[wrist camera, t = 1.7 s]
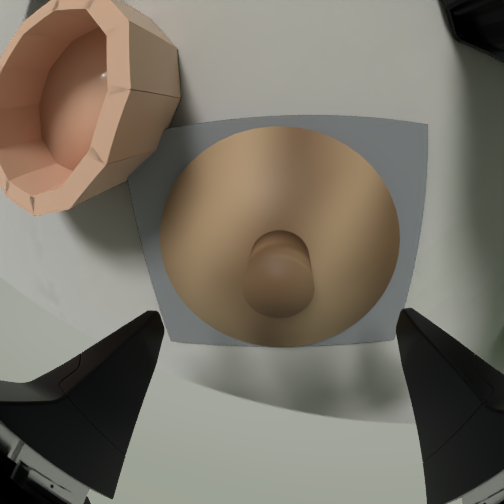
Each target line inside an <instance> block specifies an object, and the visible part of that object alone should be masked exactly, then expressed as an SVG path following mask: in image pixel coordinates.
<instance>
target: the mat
mask: <svg viewBox="0 0 504 504" xmlns="http://www.w3.org/2000/svg"><path fill="white" fill-rule="evenodd" d="M271 126H284V127H297V128H302V129H308V130H312V131H315V132H318V133H321V134H324V135H327V136H330V137H332V138H334V139H336V140H338V141H340V142H342V143H344V144H346V145H347V146H348V147H350V148H351V149H353V150H354V151H355V152H357V153H358V154H360V155H361V156H362V157H363V158H364V159H365V160H366V161H367V162H368V163H369V164H370V165H371V166H372V167H373V168H374V169H375V171H376V172H377V173H378V175H379V176H380V177H381V179H382V180H383V182H384V183H385V185H386V187H387V189H388V191H389V193H390V194H391V197H392V199H393V202H394V205H395V208H396V211H397V216H398V221H399V229H400V246H399V255H398V260H397V264H396V268H395V271H394V273H393V276H392V278H391V281H390V283H389V285H388V287H387V288H386V290H385V292H384V294H383V295H382V296H381V298H380V299H379V301H378V302H377V303H376V305H375V306H374V307H373V308H372V309H371V310H370V311H369V312H368V313H367V314H366V315H365V316H364V317H363V318H361V319H360V320H359V321H358V322H357V323H355V324H354V325H352V326H351V327H349V328H348V329H346V330H344V331H343V332H341V333H339V334H337V335H335V336H333V337H330V338H327V339H325V340H322V341H319V342H315V343H311V344H307V345H301V346H318V345H339V344H354V343H366V342H377V341H387V340H394V339H395V336H396V325H397V321H398V318H399V314H400V311H401V310H402V309H404V306H405V302H406V299H407V295H408V291H409V287H410V283H411V278H412V274H413V269H414V265H415V260H416V255H417V249H418V244H419V238H420V232H421V225H422V218H423V210H424V201H425V191H426V179H427V161H428V124H421V123H415V122H408V121H400V120H392V119H382V118H371V117H357V116H336V115H287V116H266V117H251V118H240V119H230V120H221V121H213V122H205V123H198V124H192V125H185V126H179V127H174V128H168V129H164V131H163V133H162V136H161V138H160V141H159V144H158V146H157V149H156V151H155V152H154V153H153V154H151V155H150V156H149V157H148V158H147V159H146V160H145V161H144V162H143V163H142V164H141V165H140V166H138V167H137V168H136V169H135V170H134V171H133V172H132V173H131V174H130V175H129V176H128V177H127V178H128V183H129V189H130V194H131V199H132V204H133V209H134V214H135V218H136V223H137V227H138V232H139V236H140V240H141V244H142V248H143V252H144V256H145V260H146V264H147V267H148V271H149V274H150V278H151V281H152V285H153V288H154V292H155V295H156V298H157V301H158V304H159V308H160V311H161V314H162V317H163V320H164V323H165V326H166V329H167V331H168V334H169V337H170V340H171V341H174V342H185V343H198V344H214V345H234V346H261V345H255V344H251V343H247V342H243V341H240V340H237V339H235V338H232V337H230V336H227V335H225V334H223V333H221V332H219V331H217V330H216V329H214V328H213V327H211V326H209V325H208V324H206V323H205V322H204V321H203V320H201V319H200V318H199V317H198V316H196V315H195V314H194V313H193V312H192V311H191V310H190V309H189V308H188V307H187V305H186V304H185V303H184V302H183V300H182V299H181V298H180V297H179V295H178V294H177V292H176V290H175V289H174V287H173V286H172V284H171V281H170V279H169V277H168V275H167V273H166V270H165V266H164V263H163V260H162V254H161V248H160V225H161V217H162V213H163V209H164V205H165V202H166V200H167V197H168V195H169V193H170V190H171V188H172V187H173V185H174V183H175V182H176V180H177V179H178V177H179V175H180V174H181V173H182V172H183V170H184V169H185V168H186V167H187V166H188V165H189V163H190V162H191V161H193V160H194V159H195V158H196V157H197V156H198V155H199V154H201V153H202V152H203V151H204V150H206V149H207V148H209V147H210V146H212V145H214V144H215V143H217V142H218V141H220V140H222V139H225V138H227V137H229V136H231V135H234V134H236V133H240V132H243V131H247V130H251V129H255V128H263V127H271Z"/></svg>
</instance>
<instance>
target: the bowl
mask: <svg viewBox="0 0 504 504" xmlns="http://www.w3.org/2000/svg"><path fill="white" fill-rule="evenodd" d="M180 98H181V95H180V83H179V69H178V53H177V48H176V46H175V45H174V44H173V43H172V42H171V41H170V39H169V38H168V37H167V36H166V35H165V34H164V33H163V31H162V30H161V29H160V28H159V27H158V26H157V25H156V24H155V23H154V21H153V20H152V19H151V18H149V17H148V16H146V15H144V14H143V13H141V12H140V11H138V10H136V9H135V8H133V7H131V6H130V5H128V4H126V3H125V2H123V1H121V0H51V1H49V2H48V3H46V4H45V5H44V6H42V7H41V8H40V9H39V10H37V11H36V12H35V13H33V14H32V15H31V16H30V17H29V18H27V19H26V20H25V21H24V22H23V23H22V24H21V26H20V27H19V29H18V30H17V32H16V33H15V35H14V36H13V38H12V39H11V41H10V43H9V44H8V46H7V47H6V49H5V51H4V53H3V54H2V56H1V58H0V186H1V188H2V190H3V192H4V194H5V196H6V197H7V198H9V199H10V200H12V201H13V202H14V203H16V204H17V205H19V206H20V207H21V208H23V209H24V210H26V211H27V212H29V213H30V214H32V215H33V216H37V215H42V214H47V213H52V212H57V211H63V210H68V209H71V208H73V207H75V206H76V205H78V204H80V203H82V202H84V201H86V200H88V199H90V198H92V197H94V196H96V195H98V194H100V193H102V192H104V191H106V190H108V189H110V188H112V187H115V186H117V185H119V184H121V183H123V182H125V181H126V180H128V178H127V177H128V176H129V175H130V174H131V173H132V172H133V171H134V170H135V169H136V168H137V167H138V166H140V165H141V164H142V163H143V162H144V161H145V160H146V159H147V158H148V157H149V156H150V155H151V154H153V153H154V152H155V151H156V149H157V146H158V144H159V141H160V138H161V136H162V133H163V131H164V129H168V127H169V125H170V123H171V120H172V118H173V115H174V113H175V111H176V108H177V106H178V104H179V101H180Z"/></svg>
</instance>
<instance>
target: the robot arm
mask: <svg viewBox="0 0 504 504" xmlns="http://www.w3.org/2000/svg"><path fill="white" fill-rule="evenodd" d="M443 2H444V5H445V8H446V11H447V15H448V18H449V22H450V26H451V30H452V34H453V36H454V38H455V39H456V40H457V41H459V42H461V43H464V44H466V45H468V46H471V47H473V48H475V49H478V50H480V51H482V52H484V53H486V54H488V55H491V56H493V57H495V58H497V59H498V60H500V61H502V62H504V0H443ZM459 33H460V34H461V36H462V37H461V36H460V35H459ZM396 335H397V340H398V345H399V351H400V357H401V362H402V367H403V371H404V375H405V379H406V382H407V386H408V390H409V394H410V398H411V402H412V407H413V411H414V416H415V420H416V425H417V430H418V435H419V440H420V446H421V453H422V460H423V462H424V463H423V467H424V476H425V485H426V496H427V504H447V503H450V502H452V501H454V500H457V499H458V498H461V497H462V502H463V504H504V374H502V373H501V372H499V371H498V370H496V369H495V368H493V367H492V366H491V365H489V364H488V363H487V362H485V361H484V360H482V359H481V358H480V357H479V356H477V355H475V354H474V353H473V352H472V351H471V350H469V349H468V348H467V347H465V346H464V345H463V344H461V343H460V342H459V341H457V340H456V339H454V338H453V337H452V336H450V335H449V334H448V333H446V332H445V331H443V330H442V329H441V328H439V327H438V326H437V325H435V324H434V323H432V322H431V321H430V320H428V319H427V318H425V317H424V316H422V315H421V314H420V313H418V312H417V311H415V310H414V309H412V308H405V309H402V310H401V311H400V314H399V318H398V321H397V325H396ZM163 336H164V326H163V323H162V320H161V317H160V314H159V312H157V311H146V312H145V313H143V314H142V315H140V316H139V317H137V318H135V319H134V320H132V321H131V322H129V323H128V324H126V325H124V326H123V327H121V328H120V329H118V330H117V331H115V332H113V333H112V334H110V335H109V336H107V337H106V338H104V339H102V340H101V341H99V342H98V343H96V344H95V345H93V346H91V347H90V348H88V349H87V350H85V351H84V352H82V354H79V355H77V356H76V357H74V358H73V359H71V360H69V361H68V362H66V363H64V364H63V365H61V366H59V367H57V368H55V369H54V370H52V371H50V372H48V373H46V374H44V375H42V376H40V377H38V378H37V379H35V380H33V381H30V382H26V383H14V382H7V381H0V504H91V503H90V501H89V499H88V497H87V493H88V491H89V489H91V490H93V491H95V492H97V493H99V494H101V495H104V496H106V497H108V498H110V499H113V497H114V493H115V490H116V486H117V483H118V479H119V476H120V472H121V469H122V466H123V462H124V459H125V455H126V452H127V448H128V446H129V442H130V439H131V436H132V433H133V430H134V427H135V424H136V421H137V418H138V414H139V412H140V409H141V406H142V403H143V400H144V397H145V394H146V392H147V389H148V386H149V383H150V380H151V378H152V375H153V372H154V369H155V366H156V363H157V359H158V355H159V351H160V347H161V343H162V340H163Z"/></svg>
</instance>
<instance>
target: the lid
mask: <svg viewBox="0 0 504 504" xmlns="http://www.w3.org/2000/svg"><path fill="white" fill-rule="evenodd" d="M399 246H400V229H399V221H398V216H397V211H396V208H395V205H394V202H393V199H392V197H391V194H390V193H389V191H388V189H387V187H386V185H385V183H384V182H383V180H382V179H381V177H380V176H379V175H378V173H377V172H376V171H375V169H374V168H373V167H372V166H371V165H370V164H369V163H368V162H367V161H366V160H365V159H364V158H363V157H362V156H361V155H360V154H358V153H357V152H355V151H354V150H353V149H351V148H350V147H348V146H347V145H346V144H344V143H342V142H340V141H338V140H336V139H334V138H332V137H330V136H327V135H324V134H321V133H318V132H315V131H312V130H308V129H302V128H297V127H284V126H271V127H263V128H255V129H251V130H247V131H243V132H240V133H236V134H234V135H231V136H229V137H227V138H225V139H222V140H220V141H218V142H217V143H215V144H214V145H212V146H210V147H209V148H207V149H206V150H204V151H203V152H202V153H201V154H199V155H198V156H197V157H196V158H195V159H194V160H193V161H191V162H190V163H189V165H188V166H187V167H186V168H185V169H184V170H183V172H182V173H181V174H180V175H179V177H178V179H177V180H176V182H175V183H174V185H173V187H172V188H171V190H170V193H169V195H168V197H167V200H166V202H165V205H164V209H163V213H162V217H161V225H160V248H161V254H162V260H163V263H164V266H165V270H166V273H167V275H168V277H169V279H170V281H171V284H172V286H173V287H174V289H175V290H176V292H177V294H178V295H179V297H180V298H181V299H182V300H183V302H184V303H185V304H186V305H187V307H188V308H189V309H190V310H191V311H192V312H193V313H194V314H195V315H196V316H198V317H199V318H200V319H201V320H203V321H204V322H205V323H206V324H208V325H209V326H211V327H213V328H214V329H216V330H217V331H219V332H221V333H223V334H225V335H227V336H230V337H232V338H235V339H237V340H240V341H243V342H247V343H251V344H255V345H261V346H268V347H294V346H301V345H307V344H311V343H315V342H319V341H322V340H325V339H327V338H330V337H333V336H335V335H337V334H339V333H341V332H343V331H344V330H346V329H348V328H349V327H351V326H352V325H354V324H355V323H357V322H358V321H359V320H360V319H361V318H363V317H364V316H365V315H366V314H367V313H368V312H369V311H370V310H371V309H372V308H373V307H374V306H375V305H376V303H377V302H378V301H379V299H380V298H381V296H382V295H383V294H384V292H385V290H386V288H387V287H388V285H389V283H390V281H391V278H392V276H393V273H394V271H395V268H396V264H397V260H398V255H399Z"/></svg>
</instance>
